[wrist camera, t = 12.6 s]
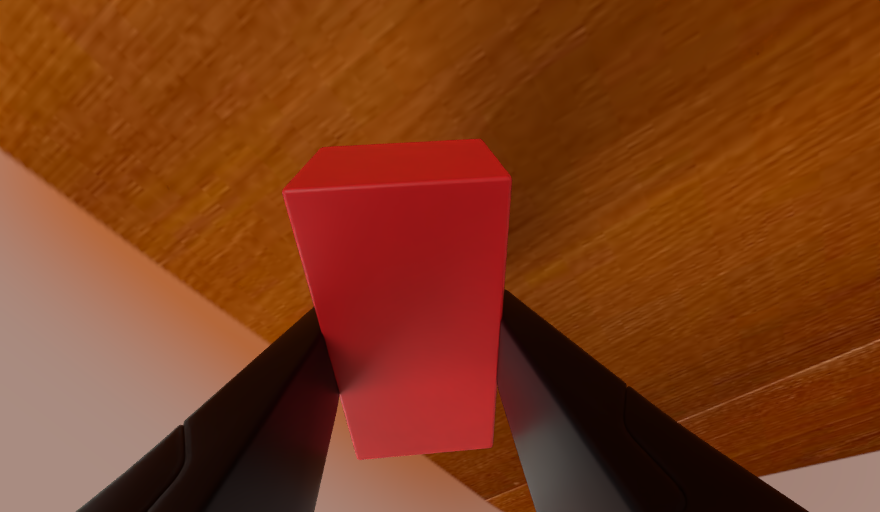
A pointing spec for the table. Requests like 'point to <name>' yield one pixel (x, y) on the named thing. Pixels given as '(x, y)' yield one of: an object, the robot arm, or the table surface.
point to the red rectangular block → (407, 287)
